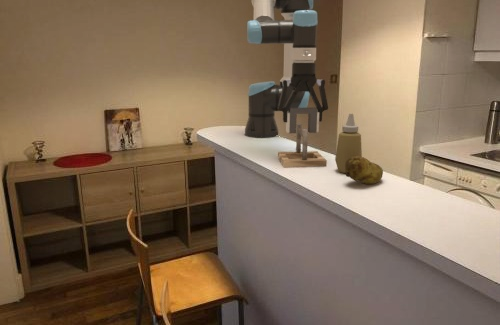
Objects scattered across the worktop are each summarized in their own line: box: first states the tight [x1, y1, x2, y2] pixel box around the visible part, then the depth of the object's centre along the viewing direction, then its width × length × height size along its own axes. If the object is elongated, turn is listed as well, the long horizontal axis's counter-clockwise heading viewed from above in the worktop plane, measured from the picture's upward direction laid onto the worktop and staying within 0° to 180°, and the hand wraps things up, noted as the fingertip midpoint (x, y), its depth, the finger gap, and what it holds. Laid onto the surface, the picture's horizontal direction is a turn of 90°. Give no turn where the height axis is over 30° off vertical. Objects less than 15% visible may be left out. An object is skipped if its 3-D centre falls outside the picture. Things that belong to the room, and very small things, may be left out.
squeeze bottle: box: [334, 113, 363, 174], centre depth 126 cm, size 8×8×18 cm
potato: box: [345, 156, 384, 185], centre depth 116 cm, size 8×13×8 cm, turn 105°
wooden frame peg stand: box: [277, 123, 328, 169], centre depth 139 cm, size 13×14×12 cm
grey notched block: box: [288, 106, 318, 134], centre depth 136 cm, size 9×3×8 cm, turn 95°
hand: (302, 131), depth 137 cm, fingers closed on grey notched block, 9 cm apart
